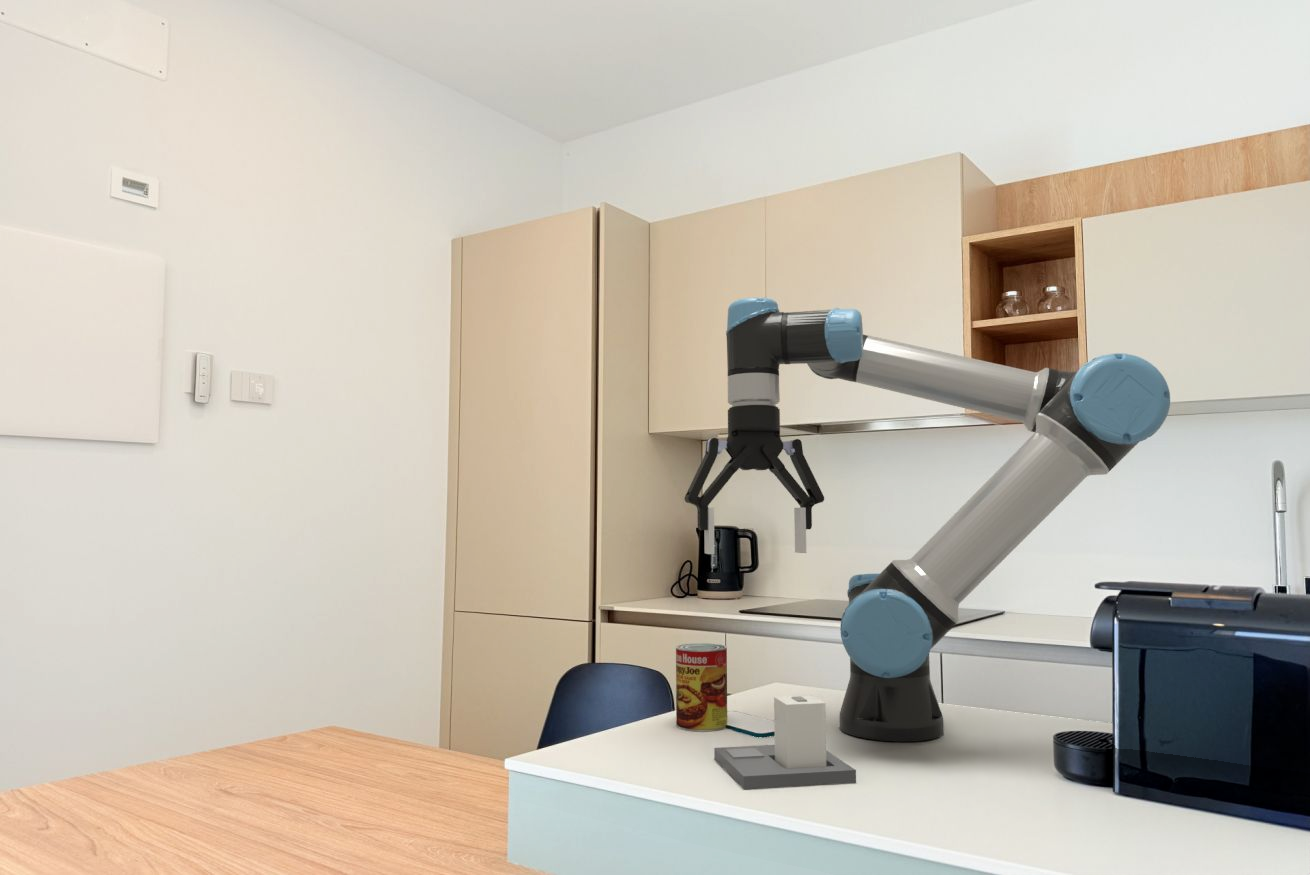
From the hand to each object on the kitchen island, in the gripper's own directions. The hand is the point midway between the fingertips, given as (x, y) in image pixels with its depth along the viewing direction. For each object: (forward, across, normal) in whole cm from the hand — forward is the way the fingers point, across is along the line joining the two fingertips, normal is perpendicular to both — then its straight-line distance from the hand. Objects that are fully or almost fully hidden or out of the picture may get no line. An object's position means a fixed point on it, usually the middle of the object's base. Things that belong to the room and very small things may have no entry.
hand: (755, 553), depth 134 cm
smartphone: (+27, -2, -12) cm, 30 cm away
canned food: (+27, +5, -13) cm, 30 cm away
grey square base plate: (+27, +1, +14) cm, 30 cm away
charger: (+27, -1, +15) cm, 31 cm away
